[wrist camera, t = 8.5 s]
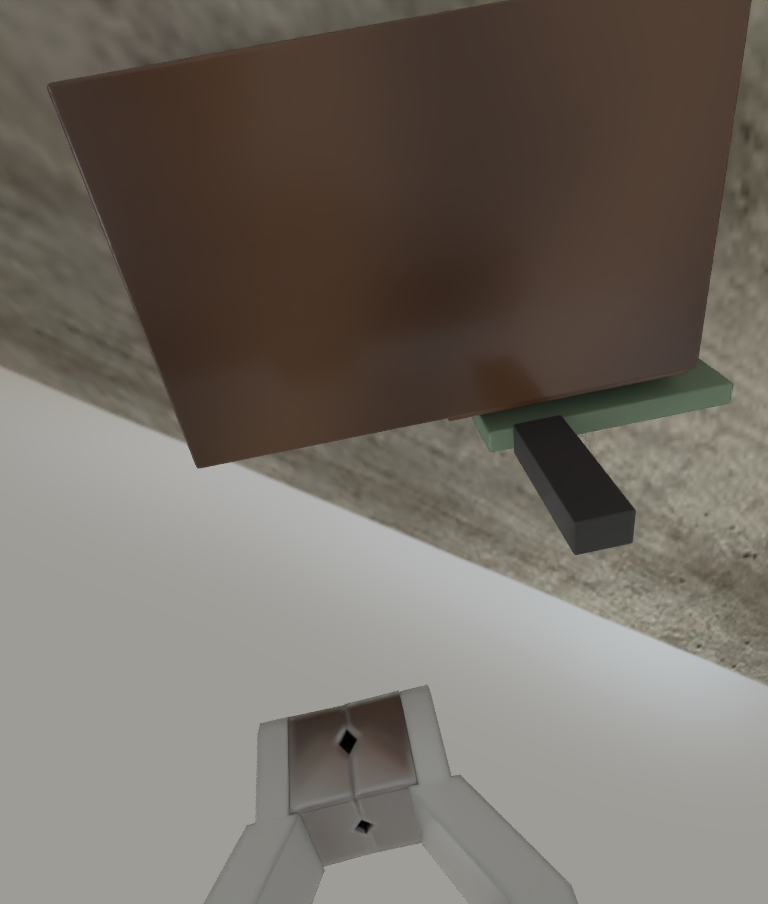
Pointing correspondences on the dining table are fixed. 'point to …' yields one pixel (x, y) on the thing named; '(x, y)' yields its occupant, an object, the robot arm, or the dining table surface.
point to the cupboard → (416, 213)
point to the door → (573, 466)
